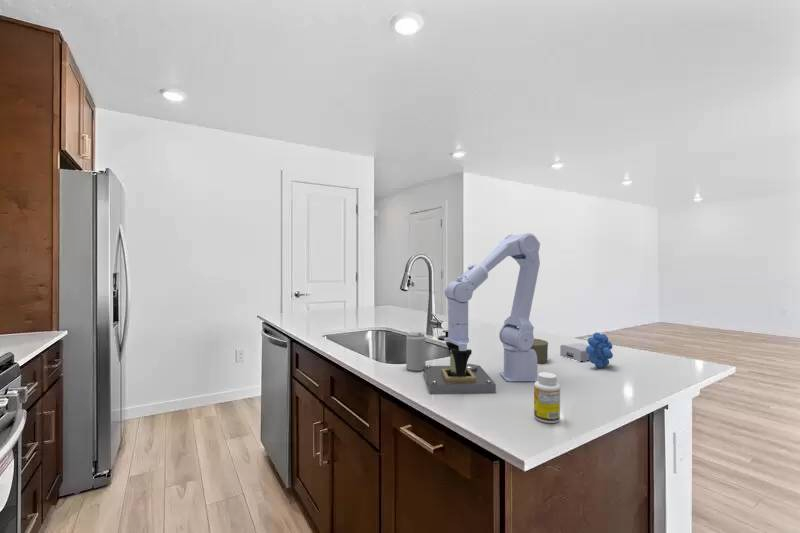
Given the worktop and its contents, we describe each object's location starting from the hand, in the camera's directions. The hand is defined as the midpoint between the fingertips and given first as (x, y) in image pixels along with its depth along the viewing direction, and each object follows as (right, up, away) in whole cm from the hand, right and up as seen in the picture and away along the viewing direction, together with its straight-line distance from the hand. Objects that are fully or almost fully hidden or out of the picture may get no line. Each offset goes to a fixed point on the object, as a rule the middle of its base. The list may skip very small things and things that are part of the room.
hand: (458, 369), depth 111 cm
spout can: (0, -4, 0) cm, 4 cm away
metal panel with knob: (0, -4, +2) cm, 5 cm away
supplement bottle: (+17, -5, -23) cm, 29 cm away
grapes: (+51, -4, +17) cm, 53 cm away
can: (+30, -4, +27) cm, 41 cm away
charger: (+52, -4, +31) cm, 61 cm away
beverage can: (-11, -4, +16) cm, 20 cm away
